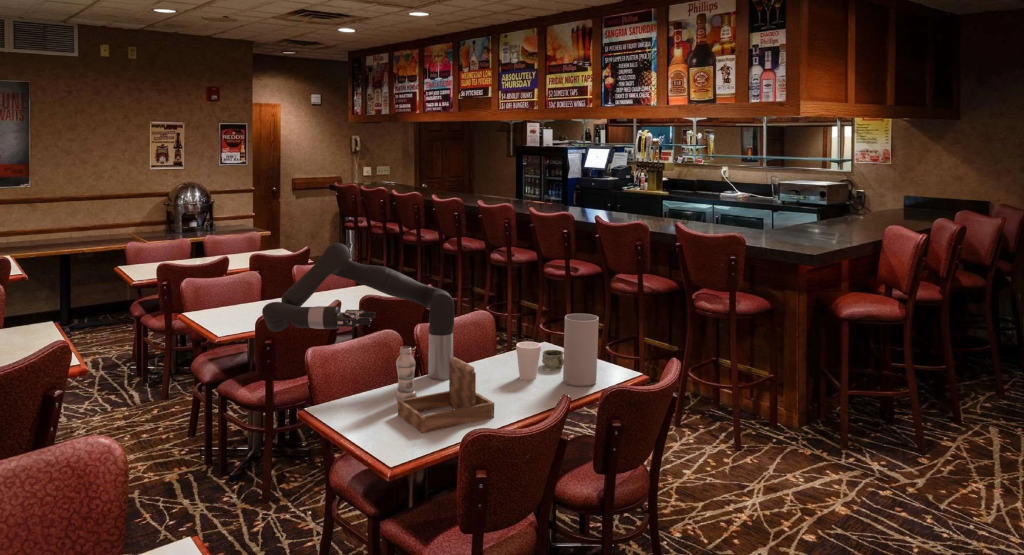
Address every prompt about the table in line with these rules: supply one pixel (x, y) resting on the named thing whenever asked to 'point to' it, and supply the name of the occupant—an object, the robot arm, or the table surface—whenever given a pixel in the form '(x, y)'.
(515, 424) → the table surface
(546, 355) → the vessel
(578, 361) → the cylinder vase
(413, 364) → the plastic bottle
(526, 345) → the foam cup
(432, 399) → the wooden box
